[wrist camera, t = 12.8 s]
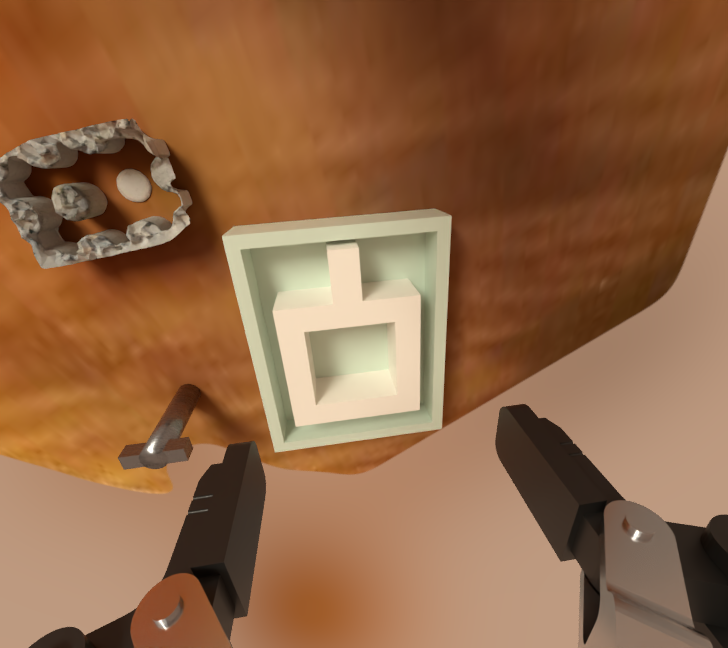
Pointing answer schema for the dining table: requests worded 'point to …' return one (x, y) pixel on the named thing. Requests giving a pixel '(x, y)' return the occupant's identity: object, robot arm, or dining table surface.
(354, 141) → the dining table surface
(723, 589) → the robot arm
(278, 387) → the tray
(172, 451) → the T-head stake
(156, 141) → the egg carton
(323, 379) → the cream rectangular frame
